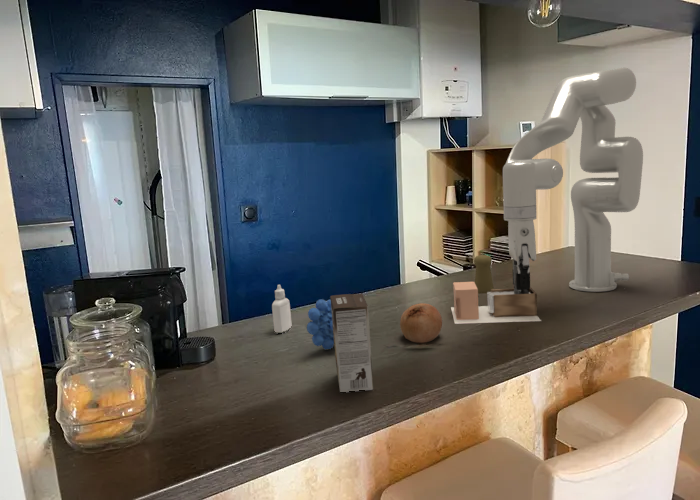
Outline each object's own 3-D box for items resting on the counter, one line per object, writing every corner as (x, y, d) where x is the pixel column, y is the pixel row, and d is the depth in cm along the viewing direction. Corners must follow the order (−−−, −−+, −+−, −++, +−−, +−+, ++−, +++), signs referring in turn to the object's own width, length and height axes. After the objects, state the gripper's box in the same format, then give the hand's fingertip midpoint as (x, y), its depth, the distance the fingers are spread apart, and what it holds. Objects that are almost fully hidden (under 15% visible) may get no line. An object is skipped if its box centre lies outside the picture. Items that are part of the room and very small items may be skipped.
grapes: (324, 361, 110) (319, 307, 108) (302, 355, 114) (297, 303, 112) (360, 345, 118) (356, 293, 116) (338, 339, 123) (334, 290, 121)
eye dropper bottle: (297, 329, 133) (293, 283, 131) (278, 335, 129) (273, 288, 127) (288, 326, 136) (284, 281, 134) (269, 331, 133) (264, 286, 131)
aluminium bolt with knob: (528, 306, 131) (527, 263, 129) (532, 311, 127) (531, 266, 125) (487, 307, 132) (486, 265, 131) (490, 312, 128) (488, 268, 126)
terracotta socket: (475, 309, 135) (474, 281, 134) (478, 319, 127) (477, 289, 126) (454, 310, 136) (453, 282, 134) (456, 319, 128) (455, 290, 126)
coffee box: (336, 374, 103) (329, 295, 100) (368, 370, 103) (362, 292, 101) (339, 394, 94) (332, 307, 91) (374, 390, 94) (368, 304, 92)
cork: (492, 288, 158) (491, 253, 157) (495, 293, 153) (494, 256, 151) (472, 289, 159) (471, 254, 157) (475, 294, 153) (473, 257, 151)
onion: (420, 360, 114) (410, 328, 109) (397, 338, 122) (387, 307, 116) (454, 338, 117) (446, 305, 111) (429, 318, 124) (421, 286, 119)
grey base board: (528, 308, 136) (528, 304, 136) (541, 324, 122) (541, 320, 122) (451, 310, 139) (450, 307, 139) (455, 327, 125) (454, 323, 125)
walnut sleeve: (531, 308, 132) (531, 287, 131) (537, 315, 126) (536, 293, 125) (491, 310, 133) (490, 289, 132) (494, 317, 127) (494, 295, 127)
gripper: (544, 216, 117) (545, 295, 120) (528, 209, 133) (529, 278, 136) (510, 218, 118) (511, 296, 121) (498, 210, 134) (500, 280, 137)
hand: (521, 286), depth 128 cm, fingers closed on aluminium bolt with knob, 3 cm apart
